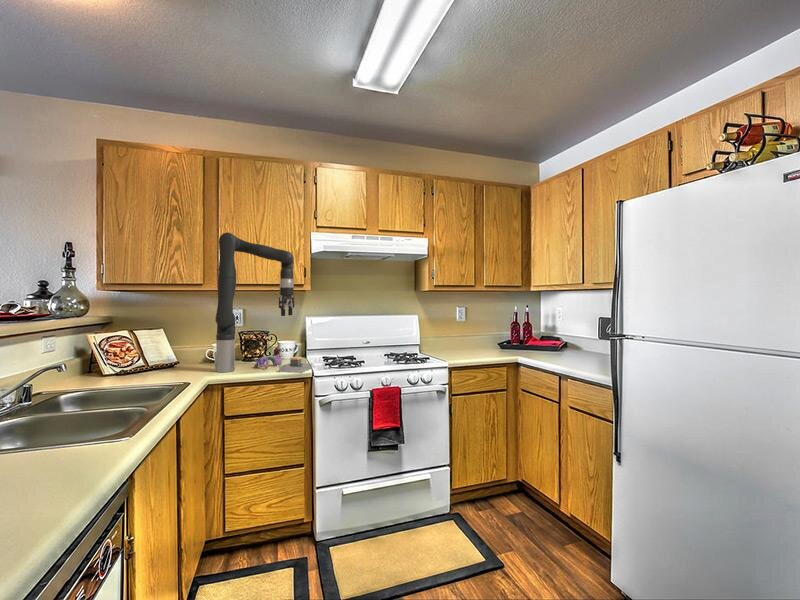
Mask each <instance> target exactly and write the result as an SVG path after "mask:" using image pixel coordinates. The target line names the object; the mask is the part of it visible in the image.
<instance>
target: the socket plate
mask: <svg viewBox="0 0 800 600" xmlns="http://www.w3.org/2000/svg"><path fill="white" fill-rule="evenodd" d="M278 367H279V368H278V370H279V371H278V372H279V373H293V374H294V373H295V374H296V373H297V374H298V373H299V374H302V373H305V372H307V371H310V370H312V369H313V363H309V362H301V365H300V366H290V362H289V363H286V364H283V365H282V364H281V365H280V366H278ZM311 368H312V369H311ZM309 369H310V370H309Z"/></svg>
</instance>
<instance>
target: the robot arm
mask: <svg viewBox="0 0 800 600" xmlns="http://www.w3.org/2000/svg"><path fill="white" fill-rule="evenodd" d="M218 248H219V249H218V251H219V262H218V272H217V308H216V314H215V323H216V324H217V326H216V335H215V337H216V339H215V340H216V343H215V344H216V348H215V349H216V350H215V351H216V353H214V372H215V371H216V372H215V373H231V372H234V371H236V369H235V368H236V367H235V366H236V365H235V364H236V363H235V361H236V358H235V357H236V356H235V353H236V352H235V351H236V348H235V346H236V345H235V344H236V343H235V340H236V315H235V313H234V305H233V304H234V298H235V294H236V287H237V269H236V263H235V253H236V252H240V253H244V254H249V255H252V256H255V257H259V258H262V259H265V260H268V261H269V260H270V261H276V262H279V263H280V264H281V265H280V267H281V268H280V272H279V274H280V275H279V277H280V280H279V295H280V297H278V308H279V309H280V316H281V317H285V316H286V308H287V315H288V316H293V309H294V308H295V297H294V292H295V290H294V289H295V287H294V286H295V284H294V283H295V282H294V260H295V258H294V255H293V253H291V252H290V251H288V250H284V249H278V248H275V247H271V246H269V245H265V244H260V243H254V242H249V241H246V240H244V239H241V238H239V237H238V236H236V235H234V234H233V233H231V232H224V233H222V234H221V235H220V236H219V239H218ZM292 296H293V297H292Z"/></svg>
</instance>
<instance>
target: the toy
mask: <svg viewBox="0 0 800 600" xmlns="http://www.w3.org/2000/svg"><path fill="white" fill-rule="evenodd" d="M273 353H274V354H273V355H267V356H266V355H263V356H261V357H259V358H257V360H256V362H255V364H254V366H253V367H254V369H258V367H262V366H264V365H265V366H264V370H265V369H266V370H268V368H269V364H270V363H269V362H270V361H271V363H272V364H273V365H274V366H276V367H278V366H277V365H280V366H282V364H283V357H282V355H281V354H280V350H279V348H277V347H275V348H274V349H273Z"/></svg>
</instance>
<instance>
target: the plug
mask: <svg viewBox="0 0 800 600" xmlns="http://www.w3.org/2000/svg"><path fill="white" fill-rule="evenodd" d="M289 363H290V366H300V365H301V363H302V356H293V357H290V361H289Z"/></svg>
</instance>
